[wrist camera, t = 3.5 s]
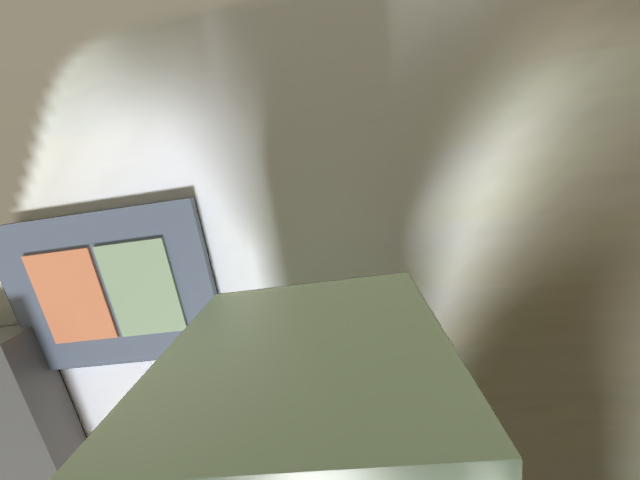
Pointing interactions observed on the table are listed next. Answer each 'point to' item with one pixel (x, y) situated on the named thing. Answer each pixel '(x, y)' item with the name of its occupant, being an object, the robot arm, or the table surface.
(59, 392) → the base plate
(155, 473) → the sage brick
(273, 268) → the table surface
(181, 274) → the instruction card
